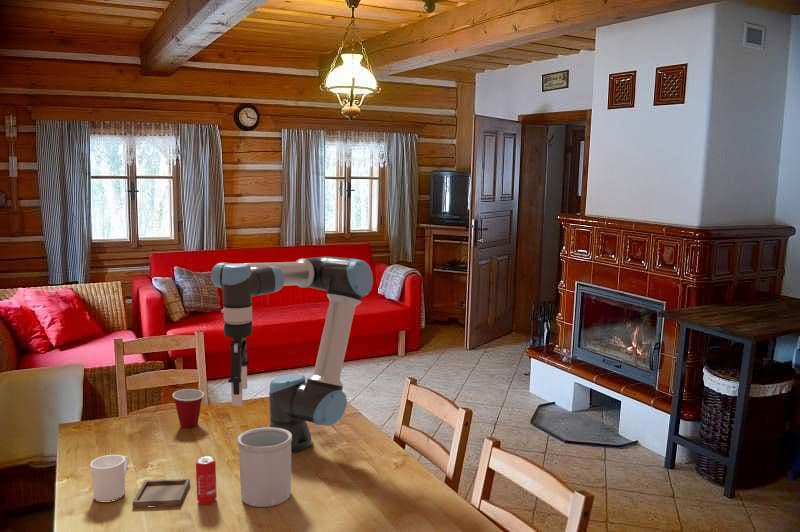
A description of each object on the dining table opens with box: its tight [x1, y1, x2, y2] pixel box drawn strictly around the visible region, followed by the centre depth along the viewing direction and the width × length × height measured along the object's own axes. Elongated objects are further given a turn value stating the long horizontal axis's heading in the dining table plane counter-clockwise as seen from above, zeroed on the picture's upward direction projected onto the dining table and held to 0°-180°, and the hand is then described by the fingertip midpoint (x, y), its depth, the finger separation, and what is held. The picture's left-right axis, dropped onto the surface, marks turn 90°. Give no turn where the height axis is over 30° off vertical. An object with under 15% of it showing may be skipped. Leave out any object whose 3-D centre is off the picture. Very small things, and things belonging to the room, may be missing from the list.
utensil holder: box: [237, 426, 292, 508], centre depth 191 cm, size 15×15×18 cm
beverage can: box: [195, 456, 218, 506], centre depth 188 cm, size 5×5×12 cm
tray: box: [131, 478, 191, 508], centre depth 191 cm, size 13×13×2 cm
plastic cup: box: [172, 388, 205, 429], centre depth 241 cm, size 11×11×12 cm
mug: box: [90, 454, 130, 502], centre depth 191 cm, size 11×9×10 cm
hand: (239, 396), depth 188 cm, fingers open, 13 cm apart
